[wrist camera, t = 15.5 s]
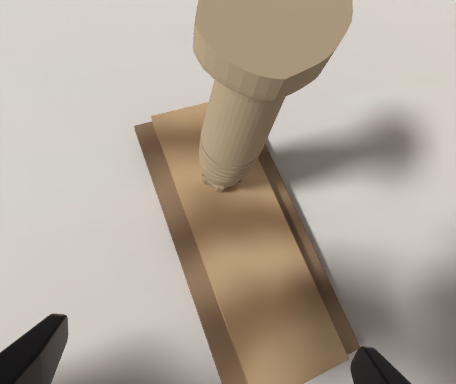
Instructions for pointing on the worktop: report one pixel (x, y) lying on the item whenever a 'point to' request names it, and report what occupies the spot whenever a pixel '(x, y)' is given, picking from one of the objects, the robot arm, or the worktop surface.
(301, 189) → the worktop surface
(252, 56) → the handle
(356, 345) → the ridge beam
